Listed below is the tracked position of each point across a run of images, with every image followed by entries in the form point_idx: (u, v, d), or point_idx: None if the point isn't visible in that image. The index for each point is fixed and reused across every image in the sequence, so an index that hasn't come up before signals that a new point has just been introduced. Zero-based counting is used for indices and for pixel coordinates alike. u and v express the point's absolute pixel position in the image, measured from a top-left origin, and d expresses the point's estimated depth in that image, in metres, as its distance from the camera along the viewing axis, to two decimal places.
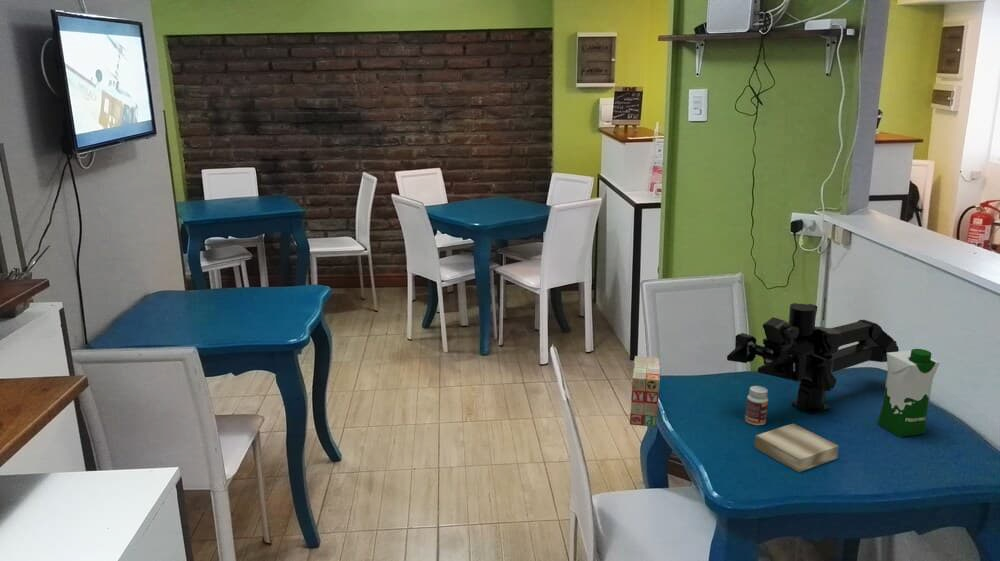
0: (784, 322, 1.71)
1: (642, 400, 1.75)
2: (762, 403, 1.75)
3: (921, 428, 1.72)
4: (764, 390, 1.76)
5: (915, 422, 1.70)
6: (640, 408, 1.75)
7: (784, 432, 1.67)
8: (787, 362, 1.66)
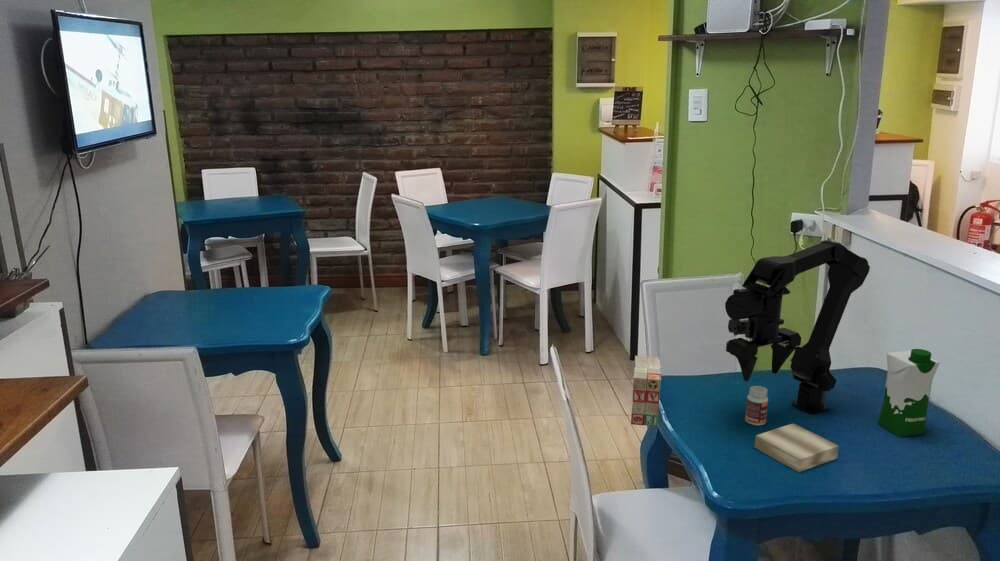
0: None
1: (643, 400, 1.75)
2: (762, 403, 1.75)
3: (921, 428, 1.72)
4: (764, 390, 1.76)
5: (915, 422, 1.70)
6: (641, 407, 1.75)
7: (784, 432, 1.67)
8: None
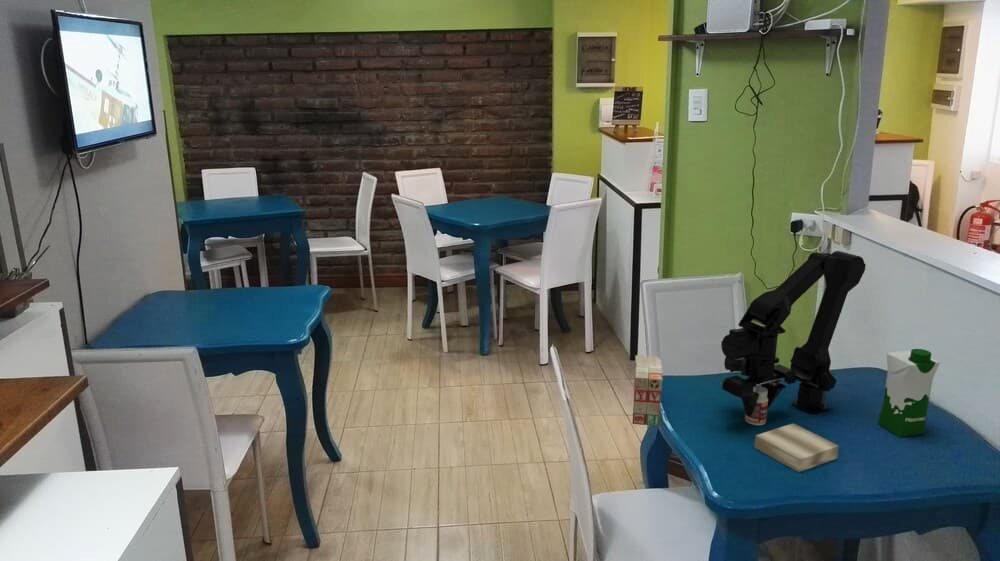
0: None
1: (645, 399, 1.75)
2: (762, 403, 1.75)
3: (921, 428, 1.72)
4: (764, 389, 1.76)
5: (915, 422, 1.70)
6: (643, 407, 1.75)
7: (784, 432, 1.67)
8: None
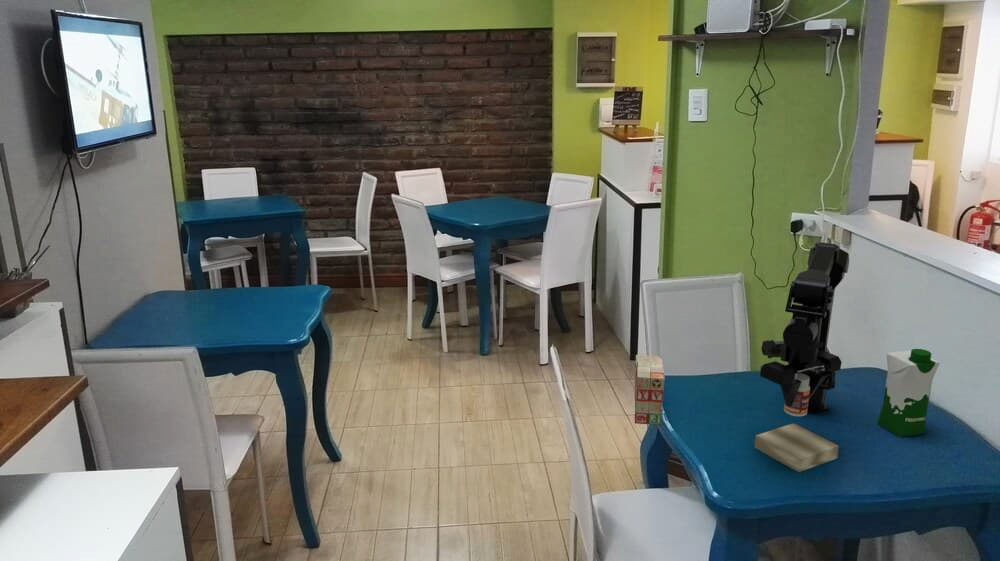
0: None
1: (647, 399, 1.75)
2: (803, 391, 1.59)
3: (921, 428, 1.72)
4: (806, 377, 1.60)
5: (915, 422, 1.70)
6: (645, 406, 1.76)
7: (784, 432, 1.67)
8: None
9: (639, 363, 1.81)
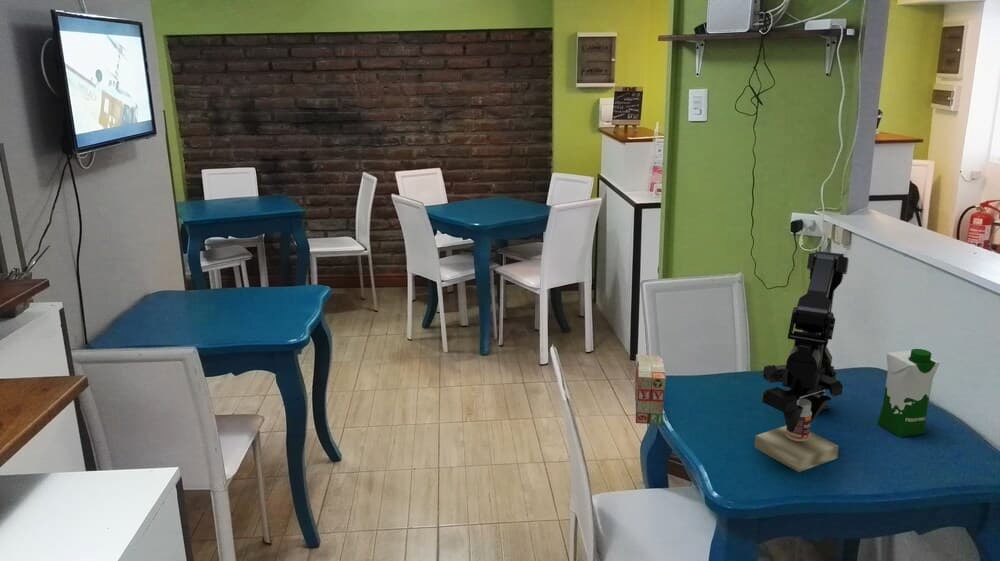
0: None
1: (648, 398, 1.75)
2: (805, 417, 1.59)
3: (921, 428, 1.72)
4: (808, 402, 1.60)
5: (915, 422, 1.70)
6: (646, 406, 1.76)
7: (784, 432, 1.67)
8: None
9: (640, 363, 1.82)
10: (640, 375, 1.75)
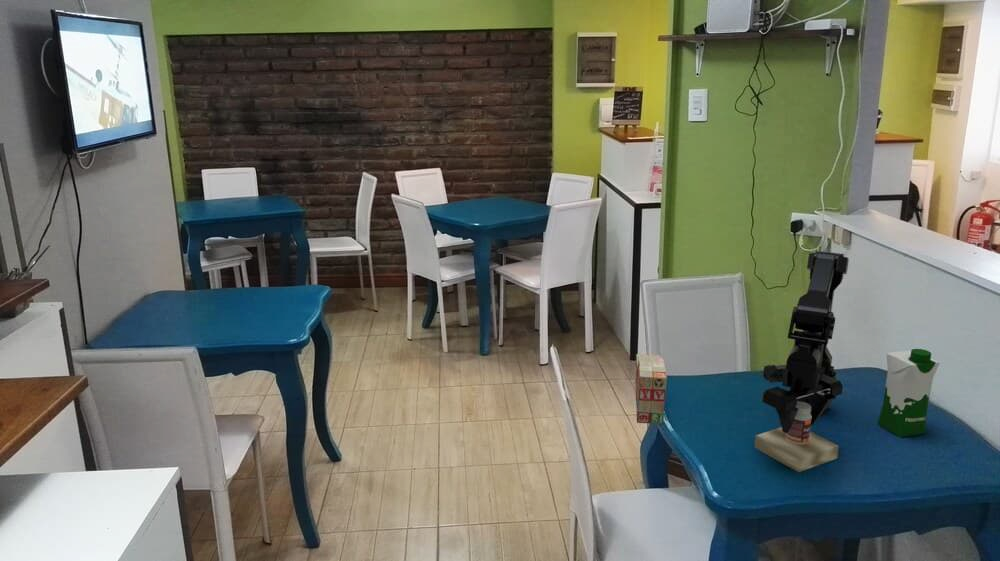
0: None
1: (649, 398, 1.76)
2: (805, 420, 1.60)
3: (921, 428, 1.72)
4: (807, 406, 1.61)
5: (915, 422, 1.70)
6: (647, 406, 1.76)
7: (784, 432, 1.67)
8: None
9: (641, 362, 1.82)
10: (641, 375, 1.75)
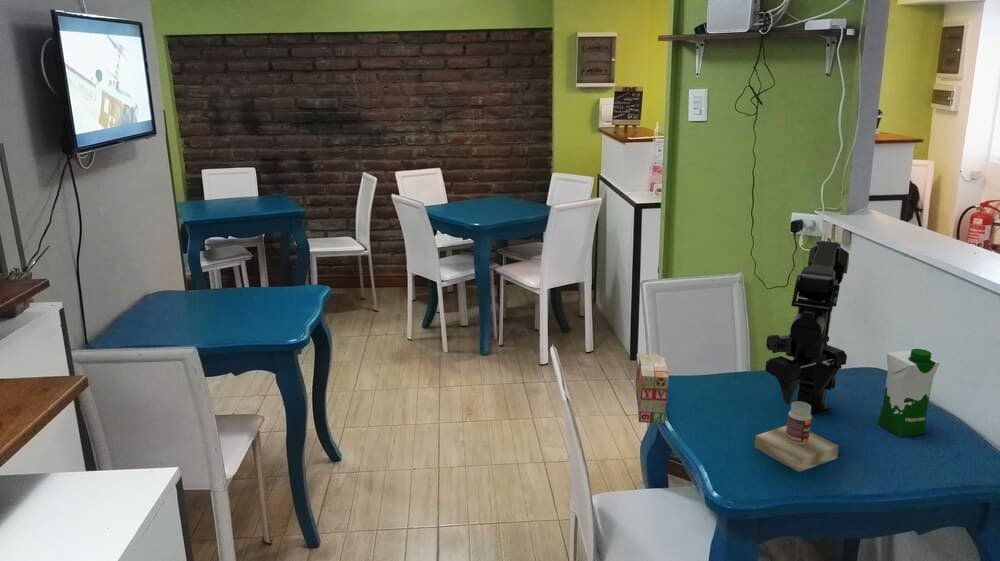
0: None
1: (651, 397, 1.76)
2: (805, 420, 1.60)
3: (921, 428, 1.72)
4: (807, 406, 1.61)
5: (915, 422, 1.70)
6: (649, 405, 1.76)
7: (784, 432, 1.67)
8: None
9: (642, 362, 1.82)
10: (643, 374, 1.75)
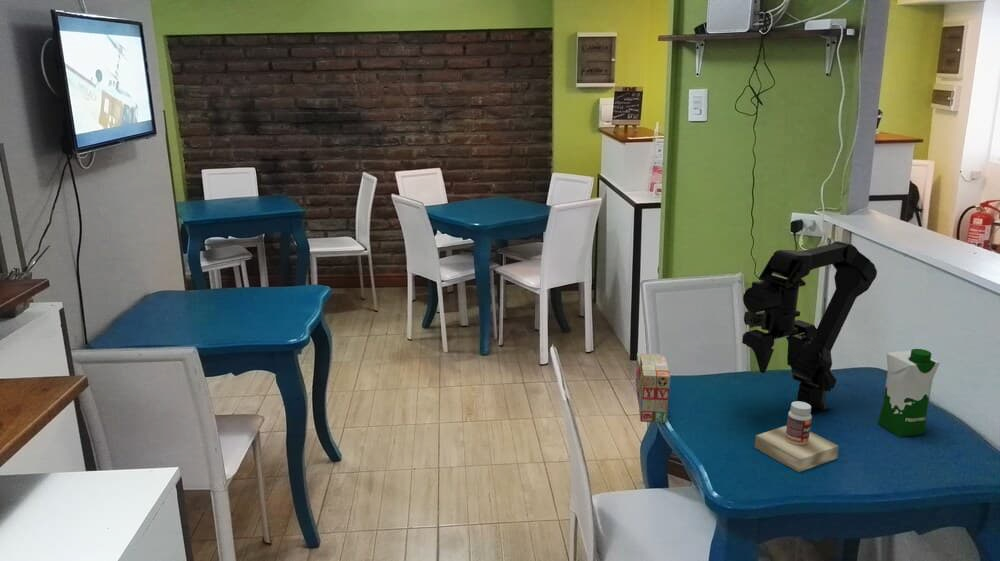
0: None
1: (653, 397, 1.76)
2: (805, 420, 1.60)
3: (921, 428, 1.72)
4: (807, 406, 1.61)
5: (915, 422, 1.70)
6: (651, 404, 1.77)
7: (784, 432, 1.67)
8: None
9: (643, 361, 1.82)
10: (645, 374, 1.76)
